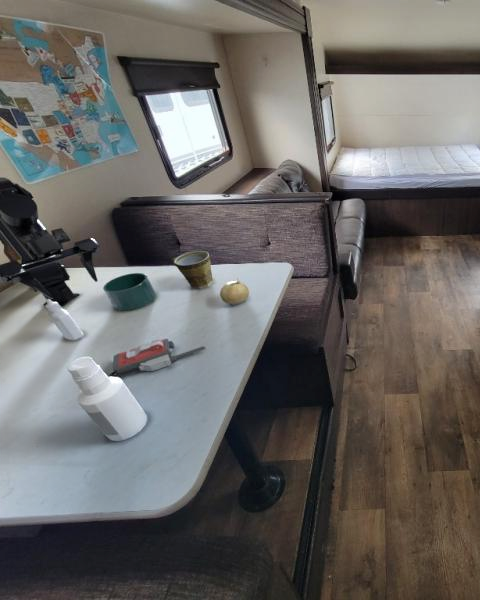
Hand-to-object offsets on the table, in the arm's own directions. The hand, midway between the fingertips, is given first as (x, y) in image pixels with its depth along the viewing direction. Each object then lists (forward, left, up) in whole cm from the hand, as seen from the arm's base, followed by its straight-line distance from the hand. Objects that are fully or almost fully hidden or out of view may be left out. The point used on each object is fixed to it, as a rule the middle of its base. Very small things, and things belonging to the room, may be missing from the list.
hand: (75, 289), depth 84 cm
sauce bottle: (-43, +24, -15) cm, 52 cm away
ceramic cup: (+11, +27, -15) cm, 33 cm away
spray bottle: (+28, -27, -15) cm, 41 cm away
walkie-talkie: (+22, -8, -15) cm, 28 cm away
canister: (-3, +16, -15) cm, 22 cm away
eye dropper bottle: (-8, -1, -15) cm, 17 cm away
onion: (+29, +18, -15) cm, 37 cm away
